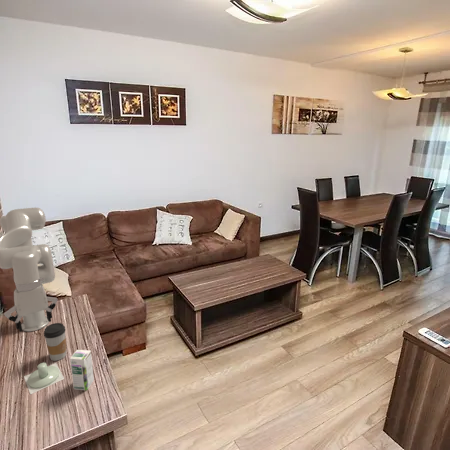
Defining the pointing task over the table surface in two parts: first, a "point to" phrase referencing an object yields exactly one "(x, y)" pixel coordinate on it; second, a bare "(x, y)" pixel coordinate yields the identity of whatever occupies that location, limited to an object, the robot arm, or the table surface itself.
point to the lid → (43, 376)
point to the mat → (33, 390)
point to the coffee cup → (55, 341)
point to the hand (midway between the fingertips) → (35, 325)
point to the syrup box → (82, 369)
